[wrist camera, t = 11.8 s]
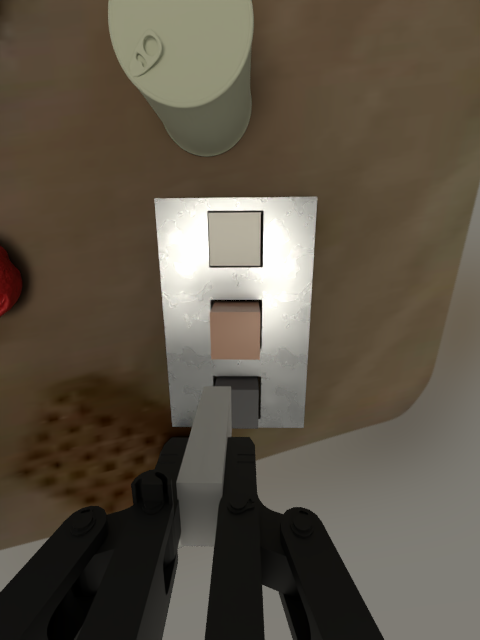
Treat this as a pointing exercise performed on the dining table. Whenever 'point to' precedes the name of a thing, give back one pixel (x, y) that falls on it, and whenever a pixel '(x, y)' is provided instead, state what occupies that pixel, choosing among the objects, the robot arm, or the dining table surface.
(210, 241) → the cream key
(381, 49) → the dining table surface
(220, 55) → the can
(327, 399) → the dining table surface
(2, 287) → the pomegranate
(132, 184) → the dining table surface
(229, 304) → the terracotta key
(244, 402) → the charcoal key
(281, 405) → the key panel
